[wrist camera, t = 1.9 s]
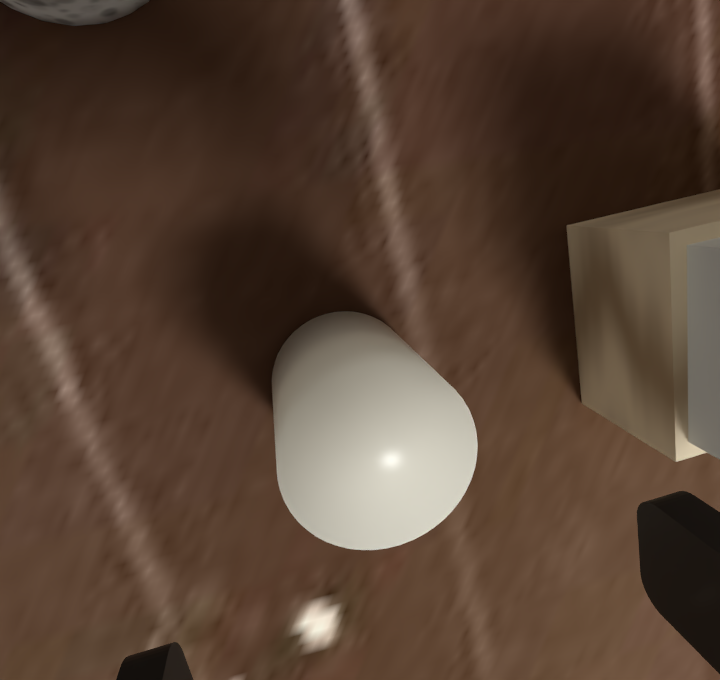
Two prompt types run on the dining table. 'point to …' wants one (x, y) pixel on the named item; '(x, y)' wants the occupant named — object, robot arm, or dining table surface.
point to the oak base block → (639, 315)
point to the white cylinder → (367, 434)
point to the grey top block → (704, 345)
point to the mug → (75, 10)
